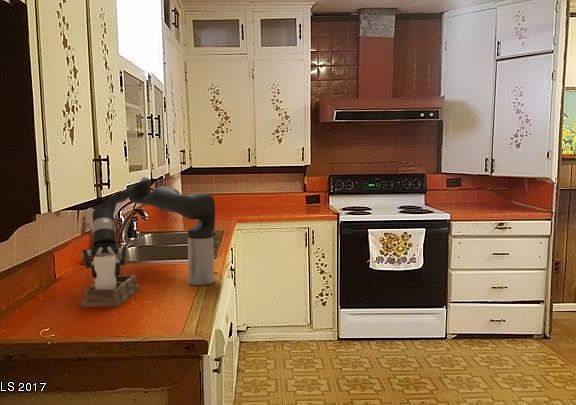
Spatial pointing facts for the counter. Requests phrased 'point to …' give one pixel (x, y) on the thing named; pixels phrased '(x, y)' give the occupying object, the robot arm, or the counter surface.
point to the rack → (111, 293)
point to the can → (105, 271)
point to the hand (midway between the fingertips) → (106, 276)
